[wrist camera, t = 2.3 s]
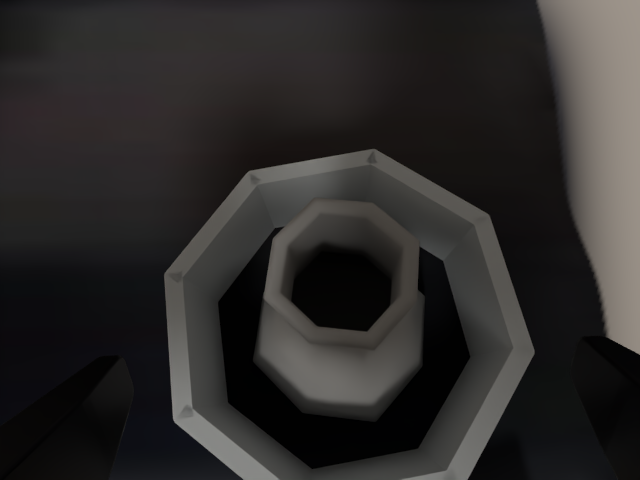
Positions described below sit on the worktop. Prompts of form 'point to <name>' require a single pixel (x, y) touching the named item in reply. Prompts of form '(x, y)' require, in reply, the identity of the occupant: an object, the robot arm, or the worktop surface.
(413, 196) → the collar
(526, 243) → the worktop surface
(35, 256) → the worktop surface
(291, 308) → the flask
